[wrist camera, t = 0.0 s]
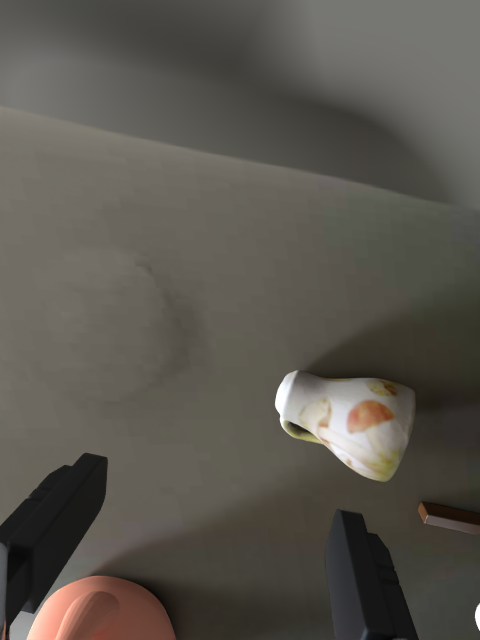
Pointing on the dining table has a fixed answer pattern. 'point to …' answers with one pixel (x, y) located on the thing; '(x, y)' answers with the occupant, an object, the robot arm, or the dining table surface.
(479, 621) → the drinking glass
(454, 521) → the walnut rack
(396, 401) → the mug
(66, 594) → the teapot
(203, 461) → the dining table surface
